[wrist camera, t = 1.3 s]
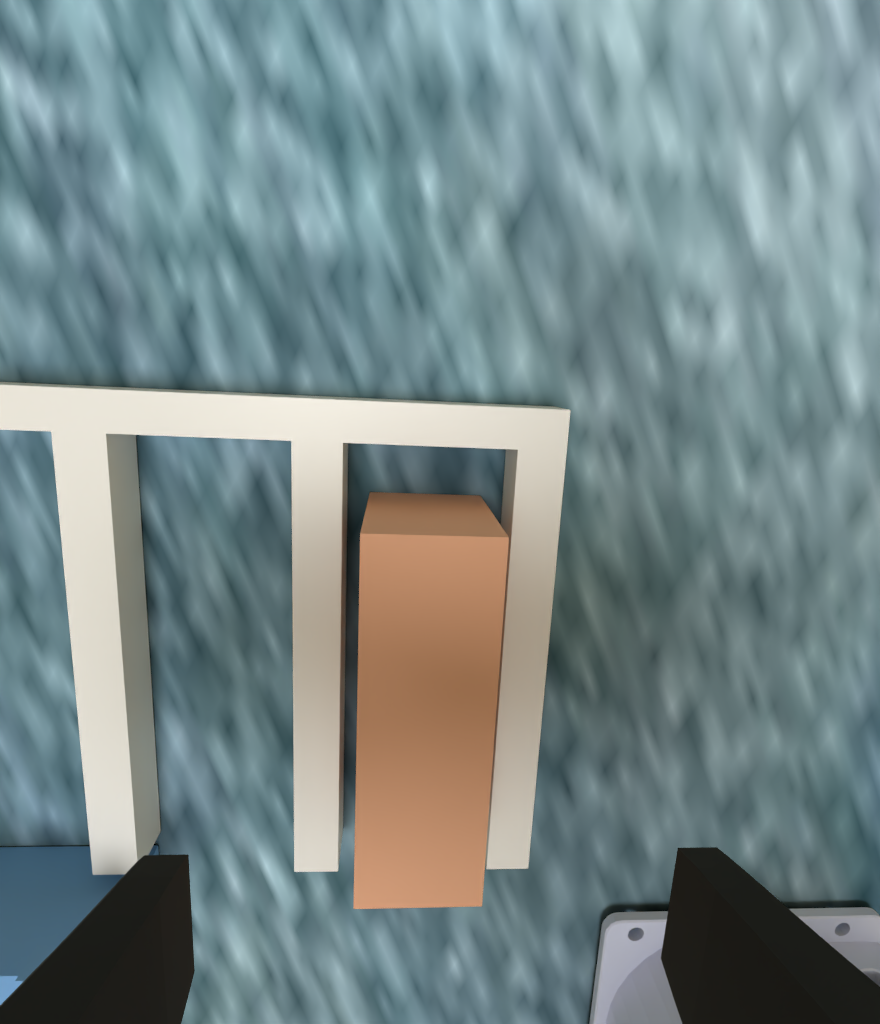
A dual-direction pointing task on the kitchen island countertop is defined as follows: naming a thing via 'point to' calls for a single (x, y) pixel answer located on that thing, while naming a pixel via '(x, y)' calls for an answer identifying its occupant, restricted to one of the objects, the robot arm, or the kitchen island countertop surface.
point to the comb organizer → (315, 587)
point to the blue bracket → (43, 904)
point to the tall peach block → (426, 697)
